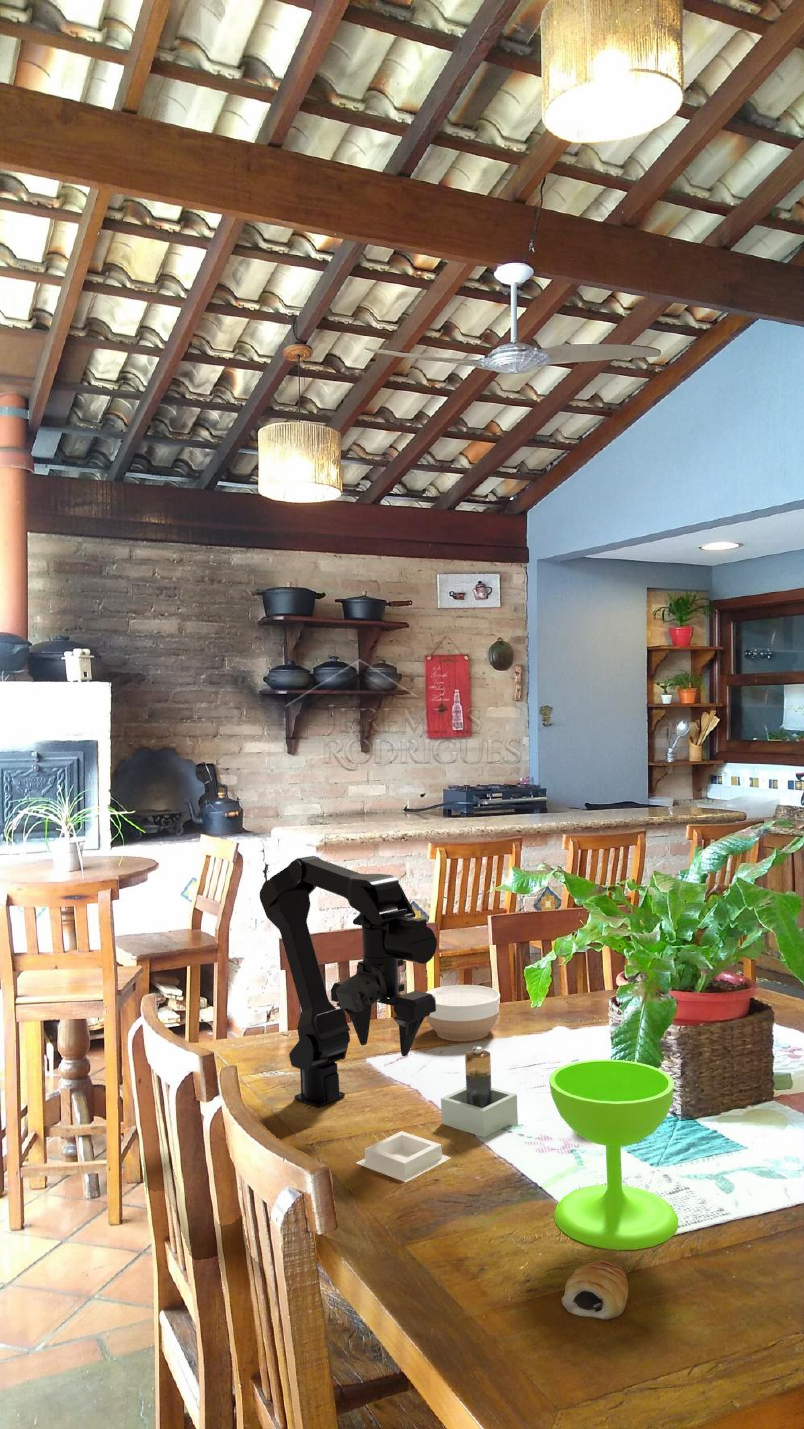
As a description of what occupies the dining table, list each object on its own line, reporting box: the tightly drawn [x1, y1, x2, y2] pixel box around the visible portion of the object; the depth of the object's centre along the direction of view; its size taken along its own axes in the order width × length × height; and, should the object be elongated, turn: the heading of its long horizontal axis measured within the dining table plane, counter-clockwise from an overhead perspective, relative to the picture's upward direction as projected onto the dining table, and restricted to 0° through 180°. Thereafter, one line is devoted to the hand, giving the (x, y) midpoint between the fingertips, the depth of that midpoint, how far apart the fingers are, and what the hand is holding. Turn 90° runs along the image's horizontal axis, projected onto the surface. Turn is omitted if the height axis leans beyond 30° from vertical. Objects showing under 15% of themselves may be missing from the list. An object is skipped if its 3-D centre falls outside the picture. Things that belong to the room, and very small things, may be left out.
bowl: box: [425, 984, 501, 1042], centre depth 215 cm, size 16×16×8 cm
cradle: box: [355, 1130, 452, 1183], centre depth 153 cm, size 10×10×3 cm
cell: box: [464, 1045, 492, 1108], centre depth 166 cm, size 4×4×12 cm
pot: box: [440, 1086, 519, 1138], centre depth 166 cm, size 9×9×5 cm
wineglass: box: [548, 1059, 680, 1251], centre depth 136 cm, size 16×16×18 cm
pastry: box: [561, 1259, 630, 1320], centre depth 118 cm, size 9×7×4 cm
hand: (383, 1050), depth 169 cm, fingers open, 9 cm apart
